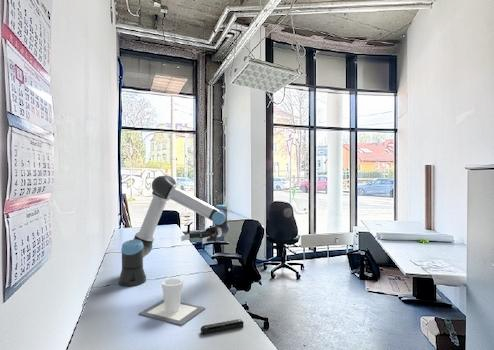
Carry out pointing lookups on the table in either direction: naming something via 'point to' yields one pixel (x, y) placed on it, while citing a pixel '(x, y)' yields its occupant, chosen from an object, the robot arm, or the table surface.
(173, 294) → the foam cup
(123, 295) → the table surface
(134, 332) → the table surface
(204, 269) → the table surface
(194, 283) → the table surface
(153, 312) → the picture frame
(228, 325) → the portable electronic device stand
